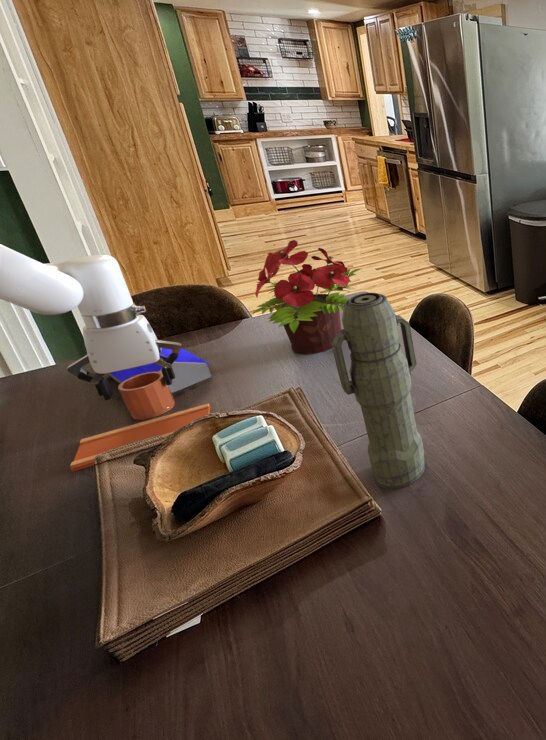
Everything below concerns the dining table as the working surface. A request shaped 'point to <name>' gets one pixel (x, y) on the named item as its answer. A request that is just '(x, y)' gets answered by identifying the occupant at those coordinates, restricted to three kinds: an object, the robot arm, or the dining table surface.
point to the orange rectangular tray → (133, 435)
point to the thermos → (382, 386)
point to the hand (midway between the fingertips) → (140, 389)
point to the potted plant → (306, 299)
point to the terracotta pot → (146, 395)
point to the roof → (184, 367)
